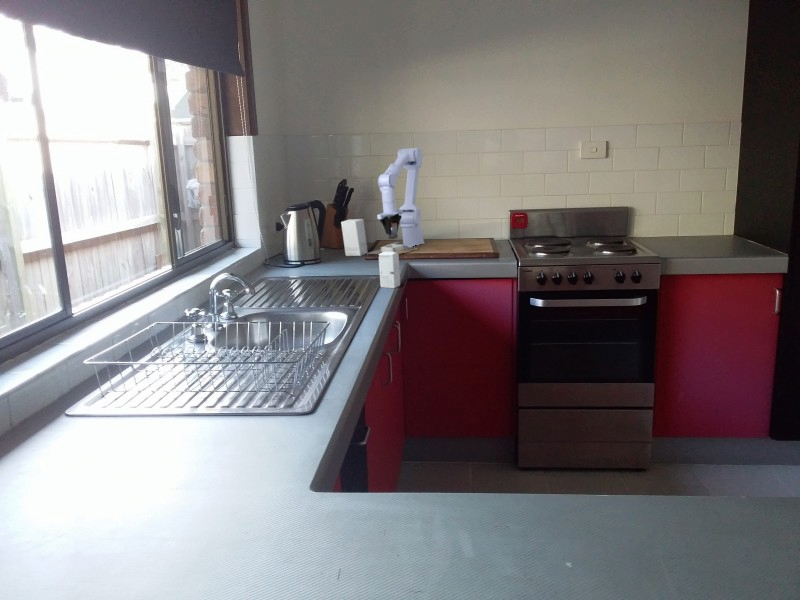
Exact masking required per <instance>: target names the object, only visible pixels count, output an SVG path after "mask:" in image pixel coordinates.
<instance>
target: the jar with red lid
mask: <svg viewBox="0 0 800 600" xmlns="http://www.w3.org/2000/svg"><path fill="white" fill-rule="evenodd" d="M387 236H388V239H390V240H393V239H395V240H396V239H398V238H399V236H398V232H397V222H391V234H387Z"/></svg>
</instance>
